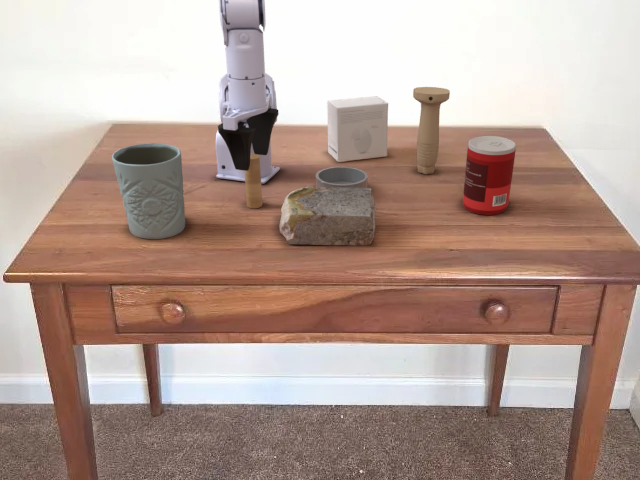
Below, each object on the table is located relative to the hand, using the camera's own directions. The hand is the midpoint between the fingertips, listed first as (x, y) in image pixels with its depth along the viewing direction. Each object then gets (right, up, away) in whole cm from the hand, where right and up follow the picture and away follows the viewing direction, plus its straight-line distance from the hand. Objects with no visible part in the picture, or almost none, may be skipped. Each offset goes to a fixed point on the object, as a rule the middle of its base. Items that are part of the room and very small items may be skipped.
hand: (251, 161), depth 121 cm
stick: (0, -6, +4) cm, 8 cm away
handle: (+30, +2, +19) cm, 36 cm away
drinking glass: (-14, -11, -4) cm, 19 cm away
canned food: (+39, -7, +5) cm, 40 cm away
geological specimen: (+12, -12, -4) cm, 18 cm away
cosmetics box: (+17, +7, +26) cm, 32 cm away
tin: (+14, -3, +10) cm, 18 cm away
